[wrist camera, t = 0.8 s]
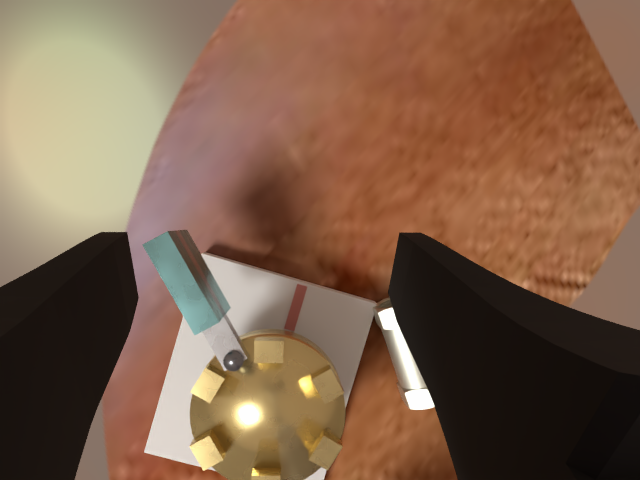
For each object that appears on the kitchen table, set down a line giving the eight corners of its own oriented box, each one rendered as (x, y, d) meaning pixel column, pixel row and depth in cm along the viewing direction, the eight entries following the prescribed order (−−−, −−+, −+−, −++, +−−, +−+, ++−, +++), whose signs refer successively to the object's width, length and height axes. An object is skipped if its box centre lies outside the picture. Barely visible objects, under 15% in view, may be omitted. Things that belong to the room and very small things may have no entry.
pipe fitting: (443, 276, 34) (367, 304, 33) (466, 281, 30) (381, 313, 29) (472, 365, 34) (398, 395, 33) (498, 382, 30) (415, 416, 30)
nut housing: (317, 487, 33) (320, 525, 29) (149, 443, 33) (127, 476, 28) (374, 301, 33) (385, 312, 29) (205, 252, 32) (190, 256, 28)
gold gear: (367, 426, 29) (378, 461, 24) (242, 495, 28) (232, 543, 24) (242, 199, 27) (232, 196, 23) (111, 270, 27) (76, 280, 23)
